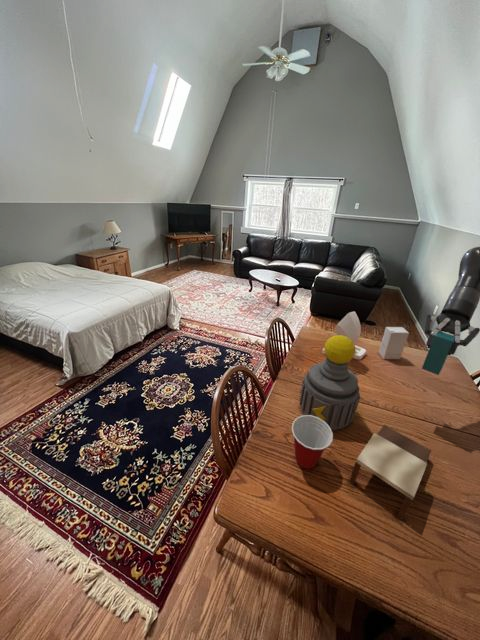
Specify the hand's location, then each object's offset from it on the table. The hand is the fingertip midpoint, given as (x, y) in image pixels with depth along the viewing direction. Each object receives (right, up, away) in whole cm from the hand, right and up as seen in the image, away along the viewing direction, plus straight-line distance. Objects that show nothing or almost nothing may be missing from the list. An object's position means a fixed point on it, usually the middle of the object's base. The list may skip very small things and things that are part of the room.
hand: (438, 350), depth 81 cm
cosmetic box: (+12, -9, +49) cm, 52 cm away
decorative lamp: (-30, -23, +14) cm, 40 cm away
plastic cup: (-41, -31, -4) cm, 52 cm away
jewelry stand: (-10, -8, +49) cm, 51 cm away
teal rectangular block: (+1, -6, +4) cm, 8 cm away
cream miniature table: (-18, -33, -6) cm, 38 cm away
